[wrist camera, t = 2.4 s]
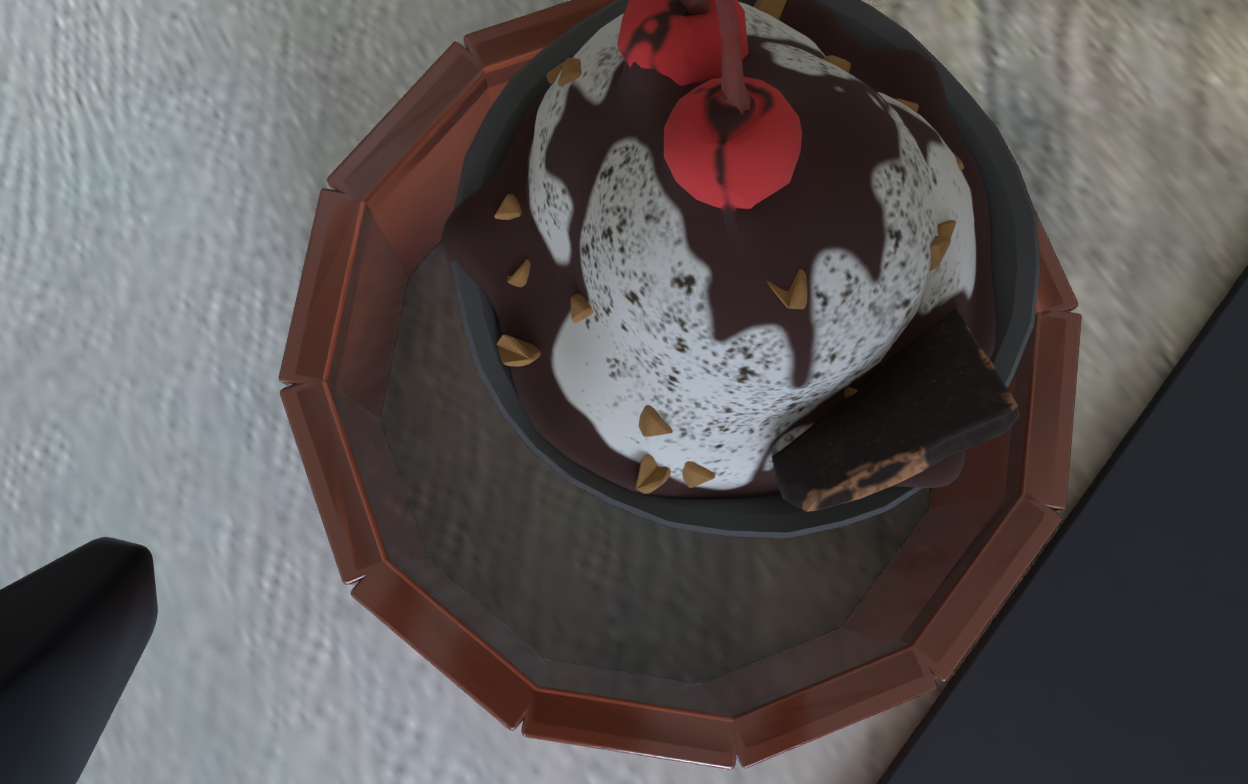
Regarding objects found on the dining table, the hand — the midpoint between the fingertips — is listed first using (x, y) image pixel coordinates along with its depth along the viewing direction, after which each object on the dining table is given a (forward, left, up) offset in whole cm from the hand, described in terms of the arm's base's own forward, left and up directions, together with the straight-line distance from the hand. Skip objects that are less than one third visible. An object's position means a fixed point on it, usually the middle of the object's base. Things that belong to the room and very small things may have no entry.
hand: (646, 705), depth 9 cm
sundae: (+5, +2, -12) cm, 13 cm away
